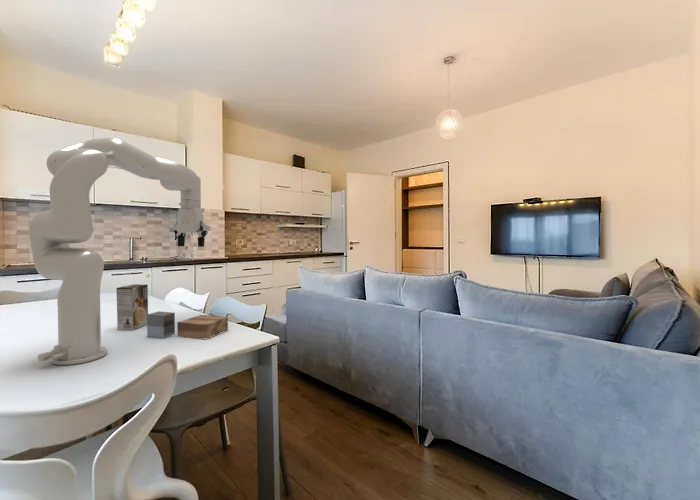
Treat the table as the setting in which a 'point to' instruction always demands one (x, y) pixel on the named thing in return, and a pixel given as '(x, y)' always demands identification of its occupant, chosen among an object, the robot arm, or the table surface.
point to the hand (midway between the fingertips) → (191, 246)
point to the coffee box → (132, 307)
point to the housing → (160, 324)
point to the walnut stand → (202, 326)
